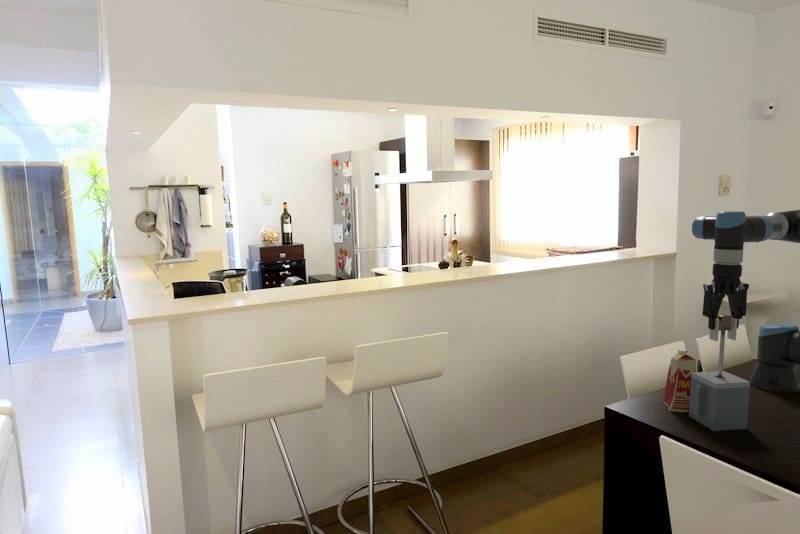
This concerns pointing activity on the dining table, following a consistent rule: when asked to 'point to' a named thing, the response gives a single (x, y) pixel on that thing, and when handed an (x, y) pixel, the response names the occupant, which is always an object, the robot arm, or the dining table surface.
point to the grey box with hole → (719, 400)
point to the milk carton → (679, 382)
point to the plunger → (723, 339)
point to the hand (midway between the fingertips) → (722, 339)
